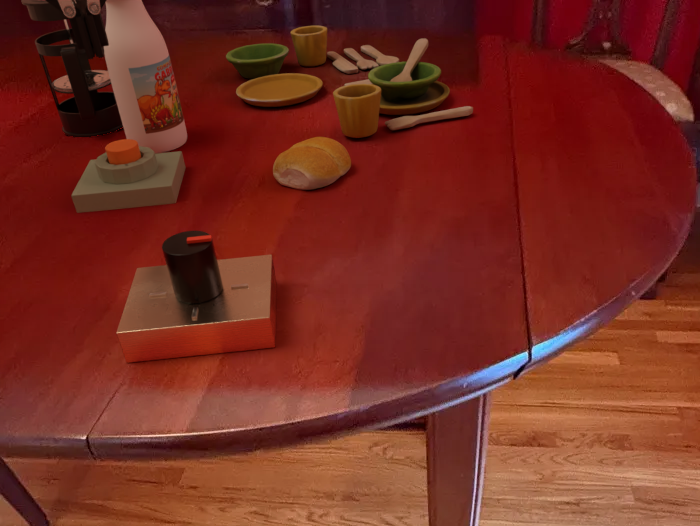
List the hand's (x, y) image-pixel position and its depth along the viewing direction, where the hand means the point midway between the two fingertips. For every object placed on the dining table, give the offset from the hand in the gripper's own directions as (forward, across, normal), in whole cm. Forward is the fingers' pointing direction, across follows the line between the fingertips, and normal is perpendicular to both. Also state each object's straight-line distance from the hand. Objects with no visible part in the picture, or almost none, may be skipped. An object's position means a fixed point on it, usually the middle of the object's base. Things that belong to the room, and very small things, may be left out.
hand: (96, 54), depth 75 cm
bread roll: (+15, -20, +5) cm, 26 cm away
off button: (+11, 0, 0) cm, 11 cm away
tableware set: (+15, -29, -23) cm, 40 cm away
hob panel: (+15, -6, +30) cm, 34 cm away
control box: (+15, 0, 0) cm, 15 cm away
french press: (+15, +5, -24) cm, 29 cm away
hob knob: (+12, -6, +31) cm, 33 cm away
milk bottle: (+15, -3, -14) cm, 21 cm away
